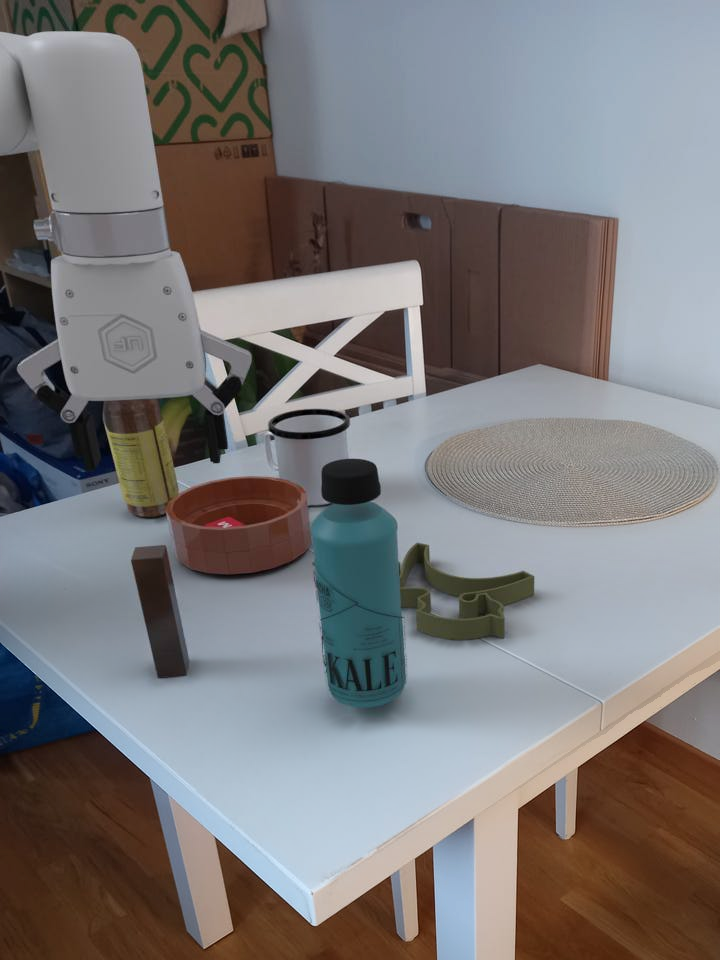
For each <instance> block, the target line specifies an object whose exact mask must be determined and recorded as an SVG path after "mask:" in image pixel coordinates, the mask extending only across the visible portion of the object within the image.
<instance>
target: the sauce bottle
mask: <svg viewBox="0 0 720 960" xmlns="http://www.w3.org/2000/svg"><path fill="white" fill-rule="evenodd" d="M160 408H161V407H160V403H159V398H152V399H132V400H111V401H103V407H102V422H103V424H104V429H105V433H106V436H107V440H108V443H109V448H110V451H111V452H110V453H111V455H112V460H113V463H114V467H115V471H116V475H117V479H118V482H119V487H120V491H121V495H122V499H123V501H124V503H125V504H126V507H127V509H128V511H129V512H130V514H132V515H134V516H136V517H141V518H156V517H160V516H163V515H166V508H167V505H168V502H169V501H170V500H171V499H172V498H174V497H175V496H176V495H177V494H179V493H180V488H179V484H178V479H177V475H176V474H177V473H176V470H175V466H174V460H173V457H172V452H171V448H170V443H169V440H168V435H167V430H166V426H165V421H164V418H163V416H162V412H161V409H160Z"/></svg>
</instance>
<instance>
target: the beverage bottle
mask: <svg viewBox="0 0 720 960" xmlns="http://www.w3.org/2000/svg"><path fill="white" fill-rule="evenodd" d="M321 478H322V486H321V493H322V498H323V499H324V500H326V501H327V502H330V503H332V504H329V505H328V506H327V507H325V508H324V509H322V511H320V513H319V514H317V515H316V517H315V518H314V519H313V521H312V522H311V523H310V527H311V528H310V532H311V538H312V550H313V558H314V559H313V562H312V563H311V565H312V566H314V570H313V576H314V577H313V582H314V587H315V588H316V593H315V596H316V598H315V599H316V602H317V603H318V608H319V609H318V610H319V621H320V622H319V623H318V627H319V635H320V639H321V644H320V645H321V654H322V663H323V668H325V670H324V671H323V672H324V675H325V678H326V679H325V683H326V685H327V686H326V688H327V690H328V691H329V692H330V694H331V696H332V698H333V699H334V700H336V701H337V702H338V703H340V704H342V705H344V706H348V707H352V708H374V707H379V706H383V705H385V704H388V703H390V702H393V701H394V700H396V699H397V698H398V697H399V696H400V695H402V693H403V692H404V689H405V686H406V684H407V681H408V678H409V677H407V676H408V669H406V667H408V657H407V654H405V651H406V647H405V644H406V636H404V635H406V632H405V630H406V627H405V626H404V625H403V622H404V624H406V622H405V620H404V621H403V619H405V616H403V613H402V607H401V599H400V580H399V562H400V561H399V546H398V543H399V542H398V527H399V526H398V521H397V519H396V518H395V517H394V515H392V514H391V512H389V511H388V510H387V509H385V508H384V507H382V506H381V505H379V504H377V503H376V502H373V501H374V500H376V499H378V498H379V497H380V495H381V494H382V488H381V486H382V485H381V482H380V477H379V472H378V467H377V465H376V464H375V462H372V461H370V460H367V459H362V458H349V459H341V460H336V461H333V462H330V463H328V464H326V465H325V466H324V467H323V468H322V472H321Z"/></svg>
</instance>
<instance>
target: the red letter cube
mask: <svg viewBox="0 0 720 960" xmlns="http://www.w3.org/2000/svg"><path fill="white" fill-rule="evenodd" d="M237 526H245V525H244V524H242V523H241V522H239V521H237V520H235V519H233V518H231V517H227V518H224V519H221V520H218V521H215V522H212V523H209V524H206V525H204V527H224V528H225V527H237Z"/></svg>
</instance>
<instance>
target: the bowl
mask: <svg viewBox="0 0 720 960" xmlns="http://www.w3.org/2000/svg"><path fill="white" fill-rule="evenodd" d="M309 510H310V509H309V506H308V500H307V492H306V491H305V490H304V489H303V488H302V487H301V486H300V485H298V484H295V483H293V482H291V481H288V480H284V479H280V478H279V477H273V476H259V475H258V476H257V475H247V476H246V475H244V476H233V477H232V476H231V477H225V478H219V479H214V480H209V481H206V482H203V483H199V484H197V485H193V486H191V487H189V488H188V487H187V489H185V490H182V491H181V492H179V494H177V495H176V496H175V497H174V498H172V499H171V500H170V501H169V502H168V505H167V508H166V514H165V515H166V519H167V526H168V530H169V536H170V539H171V544H172V549H173V555H174V556H175V558H176V559H177V561H178V563H179V564H181V565H183V566H185V567H187V568H189V569H190V570H193V571H198V572H201V573H206V574H211V575H212V574H215V575H239V574H252V573H258V572H263V571H266V570H270V569H275V568H277V567H281V566H282V565H285V564H287V563H291V562H292V561H294V560H295V559H297V558H298V557H300V556H301V555H302V554H304V553H306V551H307V550H308V549H309V547H310V546H311V544H312V543H313V541H312V536H311V532H310V528H311V519H310V511H309ZM227 517H231V518H233V519H235V520H237V521H239V522H241V523H242V524H244V525H245V526H237V527H225V528H224V527H204V525H206V524H209V523H212V522H215V521H218V520H221V519H224V518H227Z"/></svg>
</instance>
